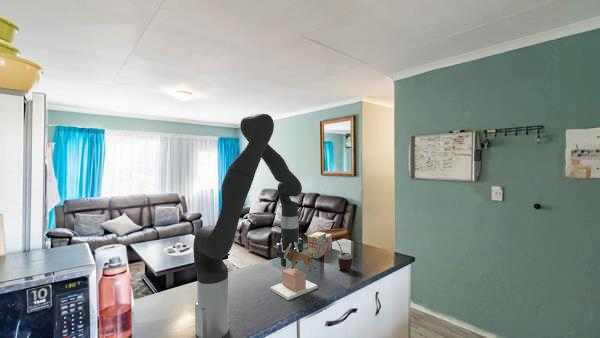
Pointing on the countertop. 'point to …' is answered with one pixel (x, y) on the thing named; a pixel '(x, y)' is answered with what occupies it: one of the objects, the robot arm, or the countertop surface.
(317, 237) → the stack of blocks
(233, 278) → the countertop surface
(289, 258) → the lion figurine
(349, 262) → the mate gourd
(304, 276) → the terracotta brick
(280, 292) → the baseplate
